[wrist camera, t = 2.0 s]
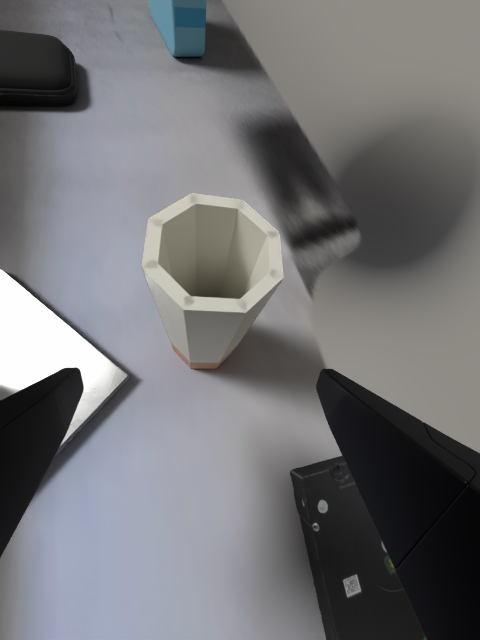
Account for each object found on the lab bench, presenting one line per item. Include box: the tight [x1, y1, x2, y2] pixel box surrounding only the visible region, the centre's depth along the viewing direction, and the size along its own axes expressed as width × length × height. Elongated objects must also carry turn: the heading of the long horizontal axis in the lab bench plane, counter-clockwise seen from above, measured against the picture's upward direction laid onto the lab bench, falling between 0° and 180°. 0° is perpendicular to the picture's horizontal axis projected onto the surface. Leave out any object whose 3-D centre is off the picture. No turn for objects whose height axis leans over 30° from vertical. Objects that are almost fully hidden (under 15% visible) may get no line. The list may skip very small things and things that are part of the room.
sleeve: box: [142, 193, 284, 369], centre depth 15 cm, size 5×5×13 cm
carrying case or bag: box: [0, 30, 77, 106], centre depth 26 cm, size 11×3×15 cm
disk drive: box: [290, 456, 427, 640], centre depth 17 cm, size 10×3×15 cm
